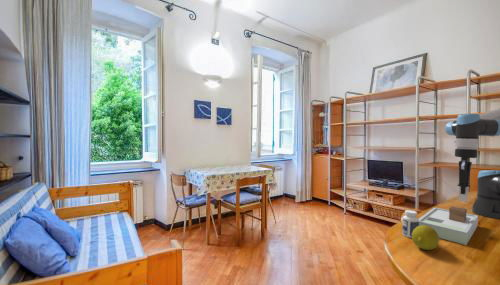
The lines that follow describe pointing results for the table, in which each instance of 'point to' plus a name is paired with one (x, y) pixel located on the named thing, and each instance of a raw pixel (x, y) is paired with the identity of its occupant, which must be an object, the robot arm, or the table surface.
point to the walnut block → (457, 214)
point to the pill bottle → (409, 223)
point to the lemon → (425, 237)
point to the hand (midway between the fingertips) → (462, 200)
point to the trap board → (450, 225)
